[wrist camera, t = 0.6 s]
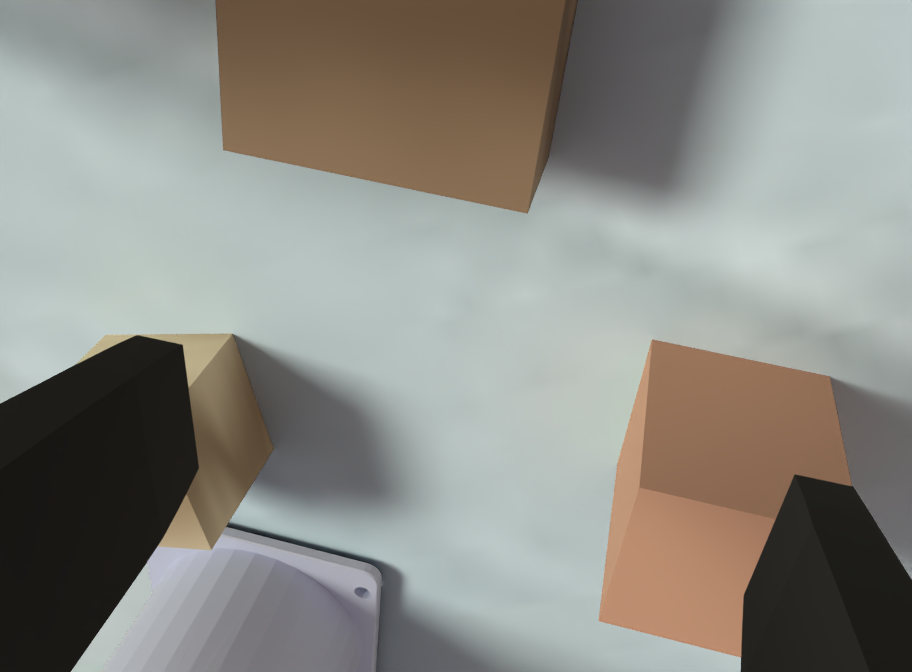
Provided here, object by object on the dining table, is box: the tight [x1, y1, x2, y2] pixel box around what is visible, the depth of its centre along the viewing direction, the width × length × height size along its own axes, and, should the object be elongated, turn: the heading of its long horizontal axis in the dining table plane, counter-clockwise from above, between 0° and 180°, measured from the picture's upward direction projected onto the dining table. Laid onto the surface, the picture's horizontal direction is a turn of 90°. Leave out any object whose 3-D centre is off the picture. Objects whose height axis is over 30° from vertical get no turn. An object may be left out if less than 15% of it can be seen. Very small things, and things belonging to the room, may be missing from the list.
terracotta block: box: [599, 340, 852, 657], centre depth 19 cm, size 4×4×5 cm
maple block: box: [77, 334, 274, 550], centre depth 23 cm, size 4×4×4 cm
